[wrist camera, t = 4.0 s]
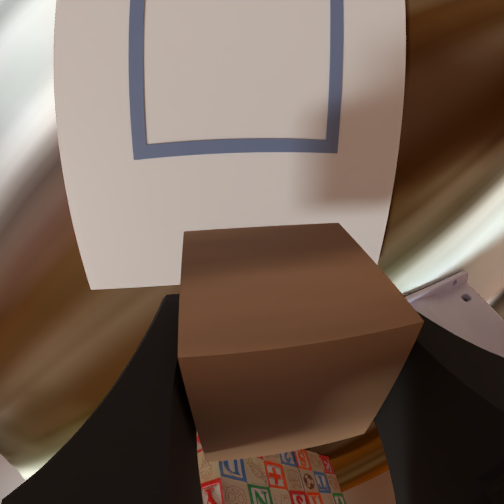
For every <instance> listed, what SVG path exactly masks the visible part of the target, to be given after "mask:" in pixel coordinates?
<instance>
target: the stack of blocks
mask: <svg viewBox="0 0 504 504" xmlns="http://www.w3.org/2000/svg"><path fill="white" fill-rule="evenodd" d="M197 457H198V466H199V475H200V483H201V491H202V498H203V504H346V502H345V499H344V496H343V494H342V493H341V490H340V487H339V484H338V481H337V478H336V476H335V475H334V471H333V468H332V465H331V462H330V460H329V457H328V456H323V455H319V454H318V453H315V452H311V451H308V450H305V449H301V450H296V451H291V452H286V453H280V454H274V455H268V456H261V457H253V458H246V459H237V460H227V461H214V462H206V459H205V455H204V452H203V449H202V446H201V443H200V439H199V436H198V433H197Z"/></svg>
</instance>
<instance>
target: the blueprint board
mask: <svg viewBox="0 0 504 504" xmlns="http://www.w3.org/2000/svg"><path fill="white" fill-rule="evenodd" d="M405 65H406V13H405V0H57V2H56V13H55V28H54V94H55V110H56V122H57V132H58V141H59V149H60V157H61V163H62V170H63V176H64V182H65V188H66V193H67V198H68V203H69V208H70V213H71V217H72V222H73V226H74V230H75V235H76V239H77V243H78V246H79V250H80V254H81V258H82V261H83V265H84V268H85V272H86V275H87V278H88V282H89V285H90V288H91V290H94V289H114V288H132V287H149V286H164V285H180V279H181V262H182V248H183V235H184V231H197V230H212V229H228V228H244V227H262V226H280V225H300V224H321V223H339V224H340V225H341V226H342V227H343V228H344V229H345V230H346V231H347V232H348V233H349V234H350V235H351V237H352V238H353V239H354V240H355V241H356V242H357V243H358V244H359V245H360V246H361V247H362V249H363V250H364V251H365V252H366V253H367V254H368V255H369V256H370V257H371V259H372V260H373V261H374V262H375V263H376V264H378V260H379V256H380V251H381V247H382V242H383V238H384V233H385V228H386V224H387V219H388V213H389V208H390V203H391V197H392V191H393V185H394V179H395V173H396V166H397V159H398V151H399V143H400V134H401V125H402V114H403V102H404V87H405Z"/></svg>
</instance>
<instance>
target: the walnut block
mask: <svg viewBox="0 0 504 504" xmlns="http://www.w3.org/2000/svg"><path fill="white" fill-rule="evenodd" d="M423 323H424V320H423V319H422V318H421V317H420V315H419V314H418V313H417V312H416V310H415V309H414V308H413V307H412V306H411V304H410V303H409V302H408V301H407V299H406V298H405V297H404V296H403V295H402V293H401V292H400V291H399V290H398V289H397V287H396V286H395V285H394V284H393V283H392V282H391V280H390V279H389V278H388V277H387V276H386V275H385V273H384V272H383V271H382V270H381V269H380V268H379V267H378V265H377V264H376V263H375V262H374V261H373V260H372V259H371V257H370V256H369V255H368V254H367V253H366V252H365V251H364V250H363V249H362V247H361V246H360V245H359V244H358V243H357V242H356V241H355V240H354V239H353V238H352V237H351V235H350V234H349V233H348V232H347V231H346V230H345V229H344V228H343V227H342V226H341V225H340V224H339V223H321V224H300V225H280V226H262V227H244V228H228V229H212V230H197V231H184V235H183V248H182V262H181V279H180V298H179V324H178V361H179V365H180V369H181V374H182V378H183V382H184V386H185V389H186V393H187V397H188V401H189V405H190V408H191V412H192V415H193V419H194V422H195V426H196V429H197V433H198V436H199V439H200V443H201V446H202V449H203V452H204V455H205V459H206V462H214V461H227V460H237V459H246V458H253V457H261V456H268V455H274V454H280V453H286V452H291V451H296V450H301V449H306V448H311V447H315V446H320V445H324V444H328V443H332V442H336V441H340V440H344V439H347V438H351V437H354V436H358V435H361V434H364V433H365V432H366V430H367V429H368V427H369V426H370V424H371V422H372V421H373V419H374V418H375V416H376V414H377V413H378V411H379V409H380V408H381V406H382V404H383V402H384V401H385V399H386V397H387V395H388V394H389V392H390V390H391V388H392V387H393V385H394V383H395V381H396V379H397V377H398V375H399V373H400V371H401V370H402V368H403V366H404V364H405V362H406V360H407V358H408V356H409V354H410V351H411V349H412V347H413V345H414V343H415V341H416V339H417V336H418V334H419V332H420V330H421V327H422V325H423Z"/></svg>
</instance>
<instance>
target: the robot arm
mask: <svg viewBox="0 0 504 504" xmlns="http://www.w3.org/2000/svg"><path fill="white" fill-rule="evenodd" d="M467 277H468V274H467V273H466V272H465V271H461V272H459V273H457V274H455V275H453V276H451V277H449V278H446V279H444V280H442V281H440V282H438V283H435V284H433V285H431V286H429V287H427V288H424V289H422V290H420V291H417V292H415V293H413V294H410V295H408V296H406V297H405V298H406V299H407V301H408V302H409V303H410V304H411V306H412V307H413V308H414V309H415V310H416V312H417V313H418V314H419V315H420V317H421V318H422V319H423V320H424V323H423V325H422V327H421V330H420V332H419V334H418V336H417V339H416V341H415V343H414V345H413V347H412V349H411V351H410V354H409V356H408V358H407V360H406V362H405V364H404V366H403V368H402V370H401V371H400V373H399V375H398V377H397V379H396V381H395V383H394V385H393V387H392V388H391V390H390V392H389V394H388V395H387V397H386V399H385V401H384V402H383V404H382V406H381V408H380V409H379V411H378V413H377V414H376V416H375V418H374V421H375V424H376V427H377V430H378V433H379V436H380V439H381V442H382V445H383V448H384V452H385V455H386V459H387V463H388V466H389V470H390V474H391V479H392V484H393V488H394V493H395V499H396V504H504V320H503V319H502V318H501V317H500V316H499V315H498V314H497V313H496V312H495V311H494V310H493V308H492V307H491V306H490V305H489V304H488V303H487V302H486V301H485V300H484V299H483V298H482V297H481V296H480V295H479V294H478V293H477V292H476V291H475V290H474V289H473V288H472V287H471V286H470V285H469V284H468V283H466V282H467ZM179 298H180V294H172V295H166V296H165V297H164V298H163V300H162V303H161V305H160V307H159V309H158V311H157V313H156V315H155V317H154V319H153V321H152V323H151V325H150V327H149V329H148V331H147V332H146V334H145V336H144V338H143V339H142V341H141V343H140V345H139V347H138V348H137V350H136V352H135V353H134V355H133V357H132V358H131V360H130V361H129V363H128V364H127V366H126V368H125V369H124V371H123V372H122V374H121V375H120V377H119V378H118V380H117V381H116V383H115V384H114V386H113V387H112V389H111V390H110V391H109V393H108V394H107V395H106V397H105V398H104V399H103V401H102V402H101V403H100V405H99V406H98V407H97V409H96V410H95V411H94V412H93V413H92V415H91V416H90V417H89V418H88V419H87V421H86V422H85V423H84V424H83V425H82V427H81V428H80V429H79V430H78V431H77V432H76V433H75V435H74V436H73V437H72V438H71V439H70V440H69V441H68V442H67V443H66V444H65V445H64V446H63V447H62V448H61V449H60V450H59V451H58V452H57V453H56V454H55V455H54V456H53V457H52V458H51V459H50V460H49V461H48V462H47V463H46V464H45V465H44V466H43V467H42V468H41V469H39V470H38V471H37V472H36V473H35V474H34V475H32V476H31V477H30V478H29V479H28V480H26V481H25V482H24V483H23V484H21V485H20V486H19V487H18V488H17V489H15V490H14V491H13V492H11V493H10V494H9V495H7V496H6V497H5V498H4V499H2V503H1V504H203V498H202V491H201V483H200V475H199V466H198V457H197V429H196V426H195V422H194V419H193V415H192V412H191V408H190V405H189V401H188V397H187V393H186V389H185V386H184V382H183V378H182V374H181V369H180V365H179V361H178V324H179Z"/></svg>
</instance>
